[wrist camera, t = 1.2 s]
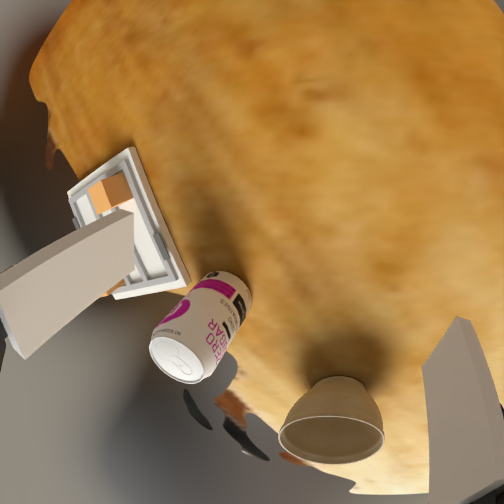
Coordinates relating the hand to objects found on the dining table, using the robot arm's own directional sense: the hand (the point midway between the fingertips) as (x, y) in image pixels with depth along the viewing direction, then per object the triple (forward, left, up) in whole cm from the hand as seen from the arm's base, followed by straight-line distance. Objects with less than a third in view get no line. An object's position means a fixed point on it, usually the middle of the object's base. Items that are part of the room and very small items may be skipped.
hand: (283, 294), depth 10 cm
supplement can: (+11, -19, -25) cm, 33 cm away
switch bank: (-3, -33, -25) cm, 41 cm away
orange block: (-9, -28, -23) cm, 37 cm away
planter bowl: (+34, -7, -25) cm, 43 cm away
